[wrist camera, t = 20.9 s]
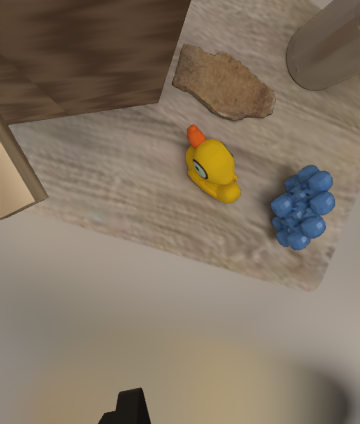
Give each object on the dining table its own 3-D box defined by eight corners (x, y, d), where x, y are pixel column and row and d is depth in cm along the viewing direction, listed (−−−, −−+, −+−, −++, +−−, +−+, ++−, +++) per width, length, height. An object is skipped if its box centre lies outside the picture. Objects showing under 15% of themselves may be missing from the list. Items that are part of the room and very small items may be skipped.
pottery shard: (192, 31, 43) (194, 25, 41) (280, 97, 46) (285, 94, 44) (162, 80, 43) (163, 76, 41) (252, 142, 46) (256, 141, 44)
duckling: (164, 146, 44) (173, 138, 34) (194, 123, 44) (211, 109, 34) (210, 209, 46) (231, 218, 36) (239, 187, 46) (267, 190, 36)
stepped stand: (143, 18, 41) (169, -482, 10) (157, 102, 43) (220, -94, 11) (-48, 39, 38) (-877, -567, 7) (-25, 129, 40) (-612, -34, 9)
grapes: (261, 160, 46) (304, 156, 34) (302, 168, 47) (358, 167, 35) (246, 236, 47) (283, 257, 35) (287, 242, 48) (336, 265, 36)
